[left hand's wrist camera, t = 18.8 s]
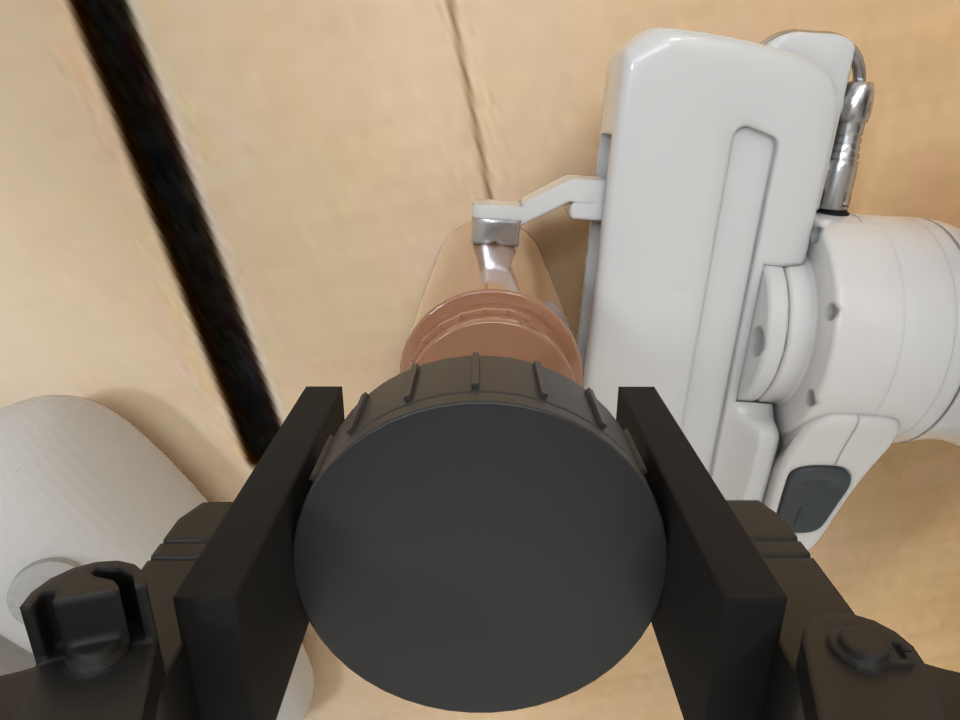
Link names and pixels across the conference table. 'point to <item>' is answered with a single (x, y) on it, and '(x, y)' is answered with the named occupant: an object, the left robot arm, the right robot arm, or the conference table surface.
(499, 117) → the conference table surface
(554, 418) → the lid
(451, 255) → the jar
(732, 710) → the left robot arm
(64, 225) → the conference table surface
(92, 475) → the projector
